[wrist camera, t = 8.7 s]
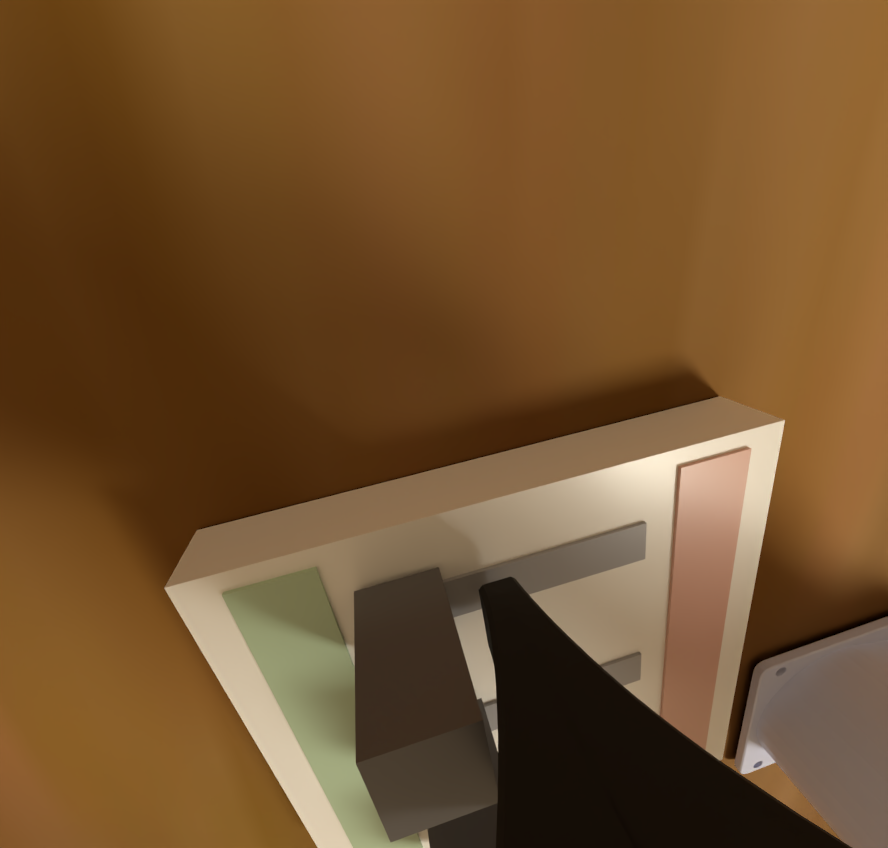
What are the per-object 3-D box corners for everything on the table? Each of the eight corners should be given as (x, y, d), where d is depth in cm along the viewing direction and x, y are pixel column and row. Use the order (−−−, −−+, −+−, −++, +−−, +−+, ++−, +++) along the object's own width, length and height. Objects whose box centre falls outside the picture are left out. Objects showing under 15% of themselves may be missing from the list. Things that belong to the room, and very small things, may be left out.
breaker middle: (481, 697, 12) (531, 863, 8) (491, 747, 13) (539, 912, 9) (412, 721, 11) (436, 900, 8) (428, 769, 12) (455, 947, 9)
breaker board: (720, 396, 12) (788, 421, 10) (685, 709, 18) (724, 762, 16) (196, 530, 10) (162, 591, 8) (350, 830, 16) (350, 906, 14)
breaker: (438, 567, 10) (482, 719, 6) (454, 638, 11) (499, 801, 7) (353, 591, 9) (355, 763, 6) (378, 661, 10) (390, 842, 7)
